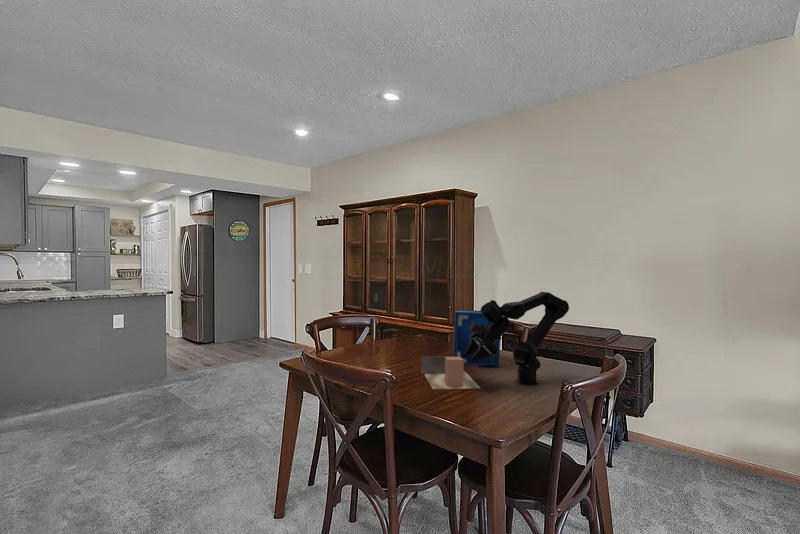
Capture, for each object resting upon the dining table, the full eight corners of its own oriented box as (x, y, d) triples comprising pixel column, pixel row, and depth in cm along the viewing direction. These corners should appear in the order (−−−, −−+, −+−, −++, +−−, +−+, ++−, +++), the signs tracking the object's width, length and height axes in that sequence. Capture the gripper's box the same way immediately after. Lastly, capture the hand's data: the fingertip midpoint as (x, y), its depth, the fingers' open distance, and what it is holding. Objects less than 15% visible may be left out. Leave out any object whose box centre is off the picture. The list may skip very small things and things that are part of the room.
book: (499, 364, 197) (500, 310, 197) (501, 368, 190) (502, 312, 190) (452, 362, 199) (453, 309, 199) (453, 366, 192) (454, 311, 192)
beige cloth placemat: (464, 373, 181) (464, 370, 181) (480, 390, 157) (480, 388, 157) (422, 373, 179) (422, 371, 179) (432, 391, 155) (432, 388, 155)
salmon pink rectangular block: (460, 382, 164) (460, 356, 164) (463, 386, 159) (463, 359, 159) (444, 382, 163) (445, 356, 163) (447, 386, 158) (447, 360, 158)
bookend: (448, 371, 179) (449, 355, 179) (450, 373, 176) (450, 356, 176) (420, 372, 178) (421, 355, 178) (421, 373, 175) (422, 357, 175)
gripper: (475, 311, 171) (447, 339, 170) (490, 318, 152) (459, 349, 151) (493, 331, 172) (466, 358, 171) (510, 340, 153) (480, 370, 152)
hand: (467, 358), depth 161 cm, fingers open, 9 cm apart
